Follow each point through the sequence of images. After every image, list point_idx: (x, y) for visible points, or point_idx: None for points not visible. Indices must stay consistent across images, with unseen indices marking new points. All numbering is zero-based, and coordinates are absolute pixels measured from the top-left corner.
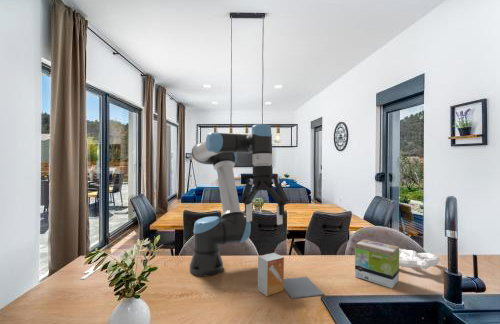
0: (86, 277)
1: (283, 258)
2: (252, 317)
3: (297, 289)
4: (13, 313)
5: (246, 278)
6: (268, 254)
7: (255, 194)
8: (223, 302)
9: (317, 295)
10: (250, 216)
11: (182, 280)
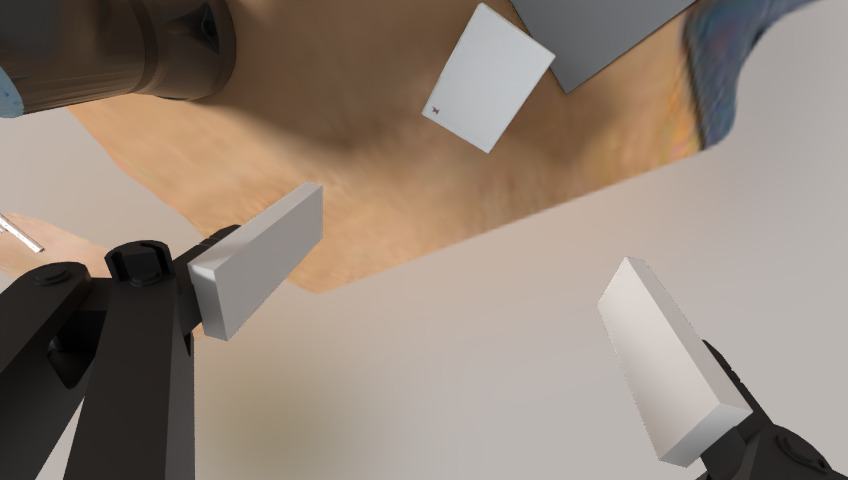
0: (34, 243)
1: (552, 59)
2: (480, 227)
3: (584, 12)
4: None
5: (353, 15)
6: (460, 57)
7: (170, 450)
8: (384, 201)
9: (671, 17)
10: (302, 226)
11: (199, 148)
